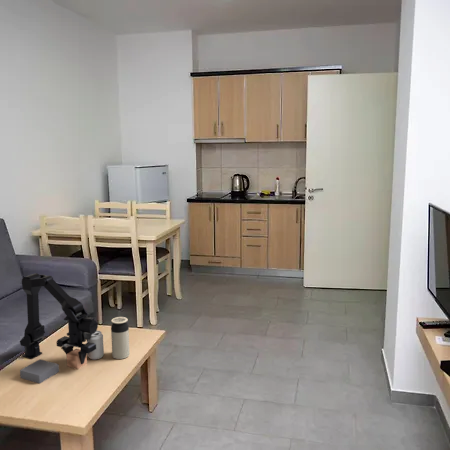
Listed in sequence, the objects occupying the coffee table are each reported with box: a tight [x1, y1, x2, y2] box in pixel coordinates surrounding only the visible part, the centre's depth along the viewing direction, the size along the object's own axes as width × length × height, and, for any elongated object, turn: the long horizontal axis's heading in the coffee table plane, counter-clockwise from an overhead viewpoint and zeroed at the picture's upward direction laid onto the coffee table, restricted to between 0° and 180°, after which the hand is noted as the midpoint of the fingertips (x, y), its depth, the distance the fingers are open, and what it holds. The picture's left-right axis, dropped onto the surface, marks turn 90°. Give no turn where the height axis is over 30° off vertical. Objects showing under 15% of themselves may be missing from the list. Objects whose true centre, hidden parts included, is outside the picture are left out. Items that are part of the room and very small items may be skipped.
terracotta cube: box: [66, 348, 88, 370], centre depth 208 cm, size 6×6×6 cm
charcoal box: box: [19, 358, 60, 385], centre depth 199 cm, size 11×11×4 cm
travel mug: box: [110, 316, 130, 360], centre depth 216 cm, size 8×8×18 cm
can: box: [86, 329, 105, 360], centre depth 216 cm, size 8×8×12 cm
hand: (77, 362), depth 208 cm, fingers closed on terracotta cube, 6 cm apart
